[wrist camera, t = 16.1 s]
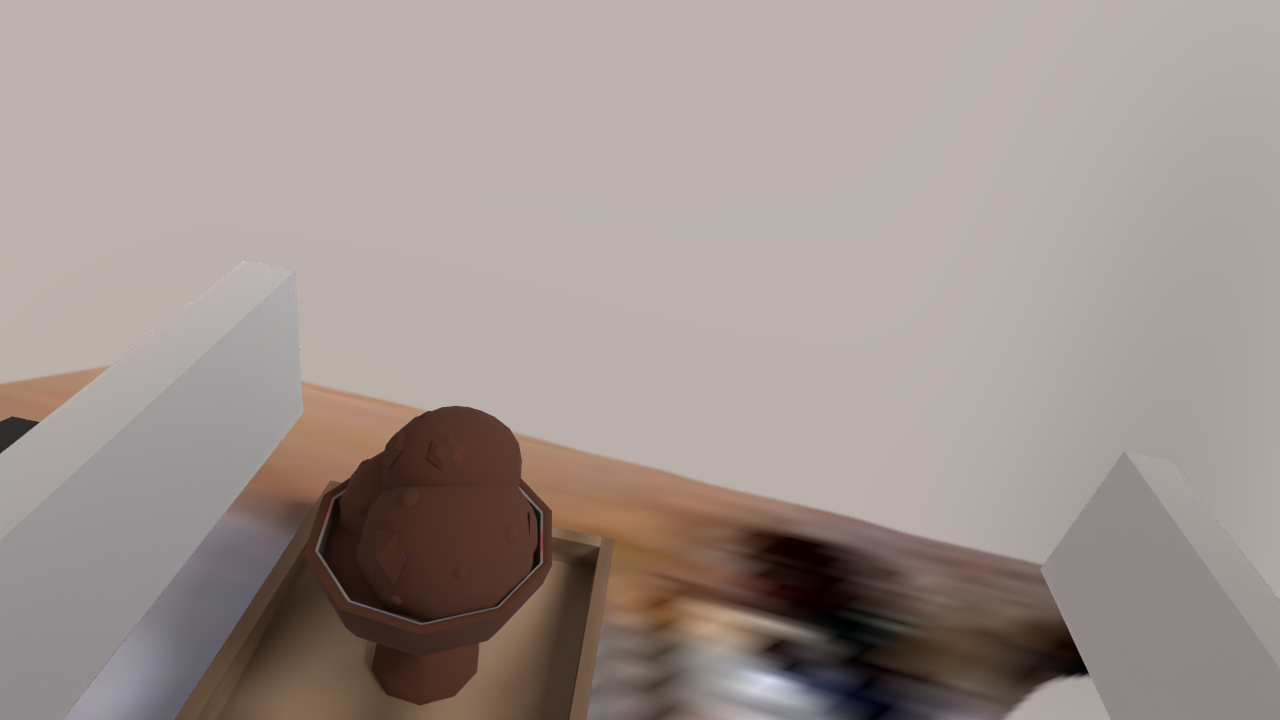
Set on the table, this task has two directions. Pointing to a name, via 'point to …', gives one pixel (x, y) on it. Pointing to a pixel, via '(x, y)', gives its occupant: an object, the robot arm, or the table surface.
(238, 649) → the light brown wooden tray
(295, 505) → the table surface
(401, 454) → the ice cream bowl
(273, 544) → the table surface
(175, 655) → the table surface
